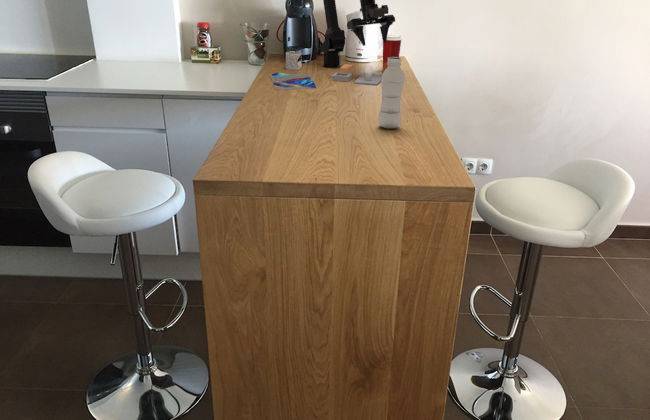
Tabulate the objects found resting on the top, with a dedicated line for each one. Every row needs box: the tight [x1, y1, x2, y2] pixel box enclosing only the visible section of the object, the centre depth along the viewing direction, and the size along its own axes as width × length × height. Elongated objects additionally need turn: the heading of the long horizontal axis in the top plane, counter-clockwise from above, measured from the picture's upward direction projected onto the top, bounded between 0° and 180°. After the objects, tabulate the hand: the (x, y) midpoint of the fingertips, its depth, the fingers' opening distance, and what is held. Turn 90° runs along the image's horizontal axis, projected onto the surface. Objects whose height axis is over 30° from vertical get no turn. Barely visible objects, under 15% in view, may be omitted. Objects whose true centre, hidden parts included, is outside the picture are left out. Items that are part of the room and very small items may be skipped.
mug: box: [285, 50, 302, 71], centre depth 244 cm, size 10×7×7 cm
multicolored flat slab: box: [269, 72, 318, 90], centre depth 221 cm, size 25×15×2 cm, turn 9°
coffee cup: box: [382, 33, 403, 73], centre depth 240 cm, size 8×8×15 cm
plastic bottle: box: [377, 57, 406, 129], centre depth 164 cm, size 6×7×20 cm
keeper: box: [353, 66, 382, 87], centre depth 226 cm, size 9×18×6 cm, turn 164°
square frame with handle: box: [331, 63, 354, 83], centre depth 229 cm, size 14×6×4 cm, turn 164°
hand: (374, 44), depth 224 cm, fingers open, 9 cm apart
